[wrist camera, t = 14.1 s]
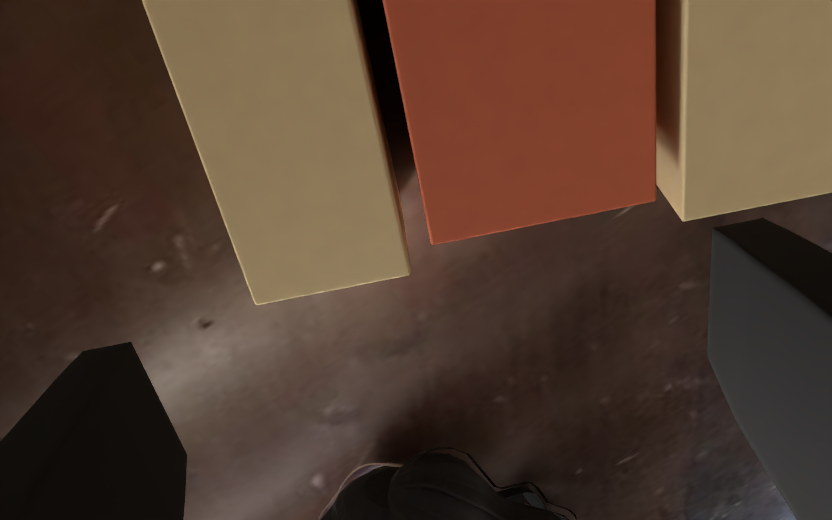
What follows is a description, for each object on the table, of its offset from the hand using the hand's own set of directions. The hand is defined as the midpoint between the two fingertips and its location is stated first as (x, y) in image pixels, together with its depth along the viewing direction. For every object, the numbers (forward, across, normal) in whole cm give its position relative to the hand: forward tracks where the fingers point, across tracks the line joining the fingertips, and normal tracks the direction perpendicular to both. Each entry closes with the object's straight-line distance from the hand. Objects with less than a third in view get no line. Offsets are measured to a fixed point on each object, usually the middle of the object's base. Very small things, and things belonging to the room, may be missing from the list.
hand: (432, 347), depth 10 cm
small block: (+8, -2, -1) cm, 9 cm away
